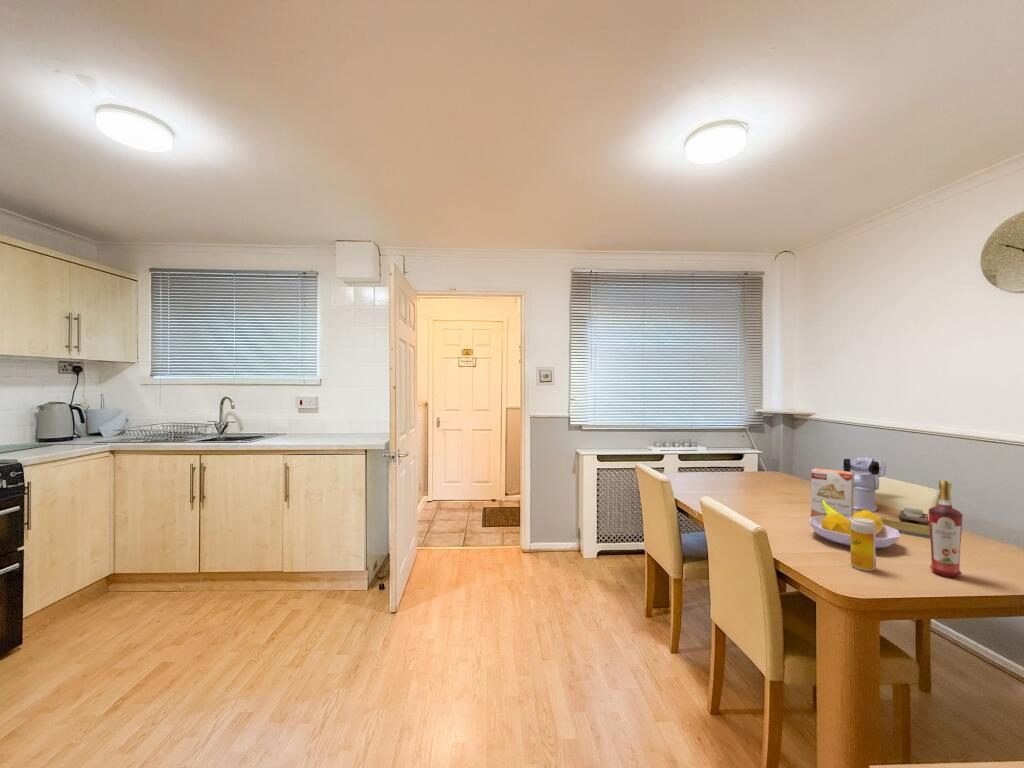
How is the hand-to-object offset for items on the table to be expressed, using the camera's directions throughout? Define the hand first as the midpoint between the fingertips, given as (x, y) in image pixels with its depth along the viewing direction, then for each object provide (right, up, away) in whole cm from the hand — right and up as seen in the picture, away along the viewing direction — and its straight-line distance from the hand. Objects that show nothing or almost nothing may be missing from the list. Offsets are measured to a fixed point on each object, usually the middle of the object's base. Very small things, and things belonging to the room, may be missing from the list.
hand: (858, 467), depth 188 cm
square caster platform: (+19, -22, -5) cm, 29 cm away
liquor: (-18, -22, -56) cm, 63 cm away
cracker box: (-14, -22, -3) cm, 26 cm away
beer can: (-39, -22, -51) cm, 68 cm away
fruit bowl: (-25, -22, -28) cm, 43 cm away
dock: (+8, -22, -15) cm, 28 cm away
